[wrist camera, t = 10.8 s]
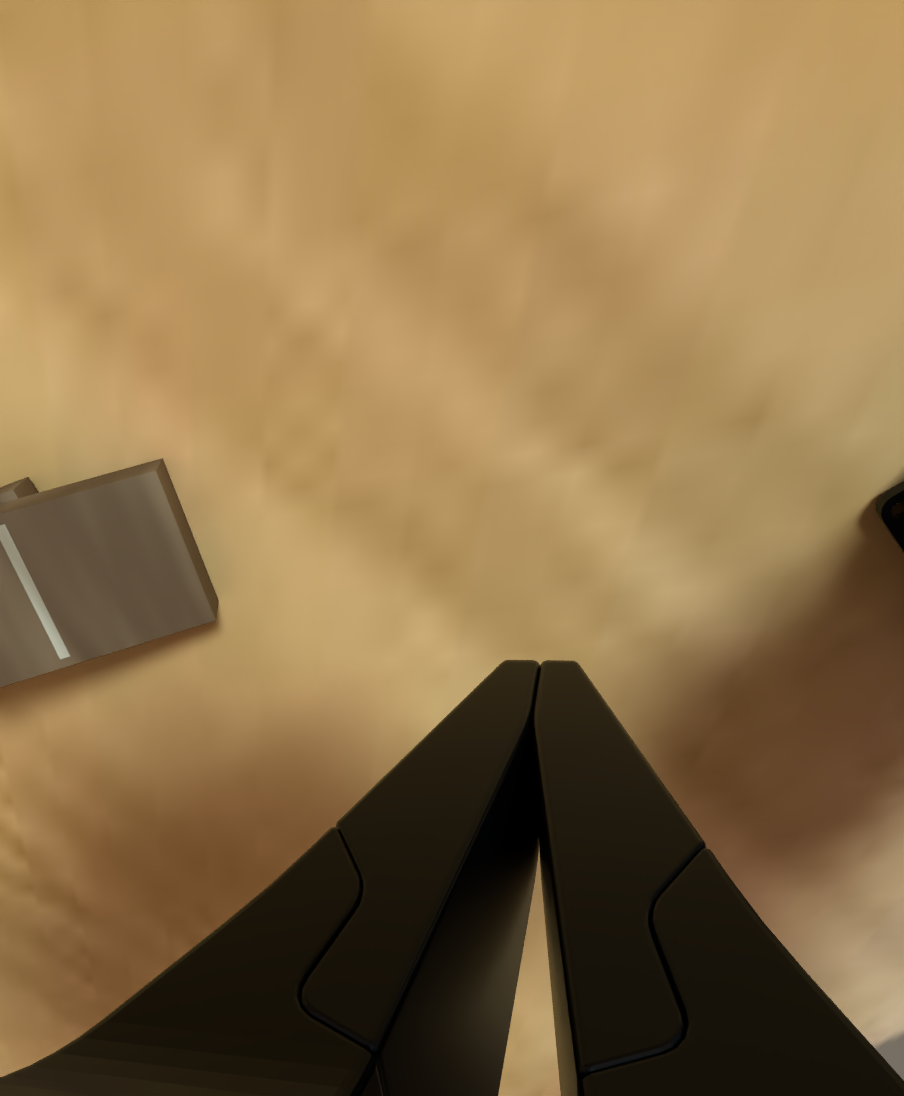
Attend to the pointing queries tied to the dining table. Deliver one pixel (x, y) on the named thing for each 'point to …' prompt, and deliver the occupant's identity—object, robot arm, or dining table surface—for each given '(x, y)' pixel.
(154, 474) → the domino
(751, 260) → the dining table surface
